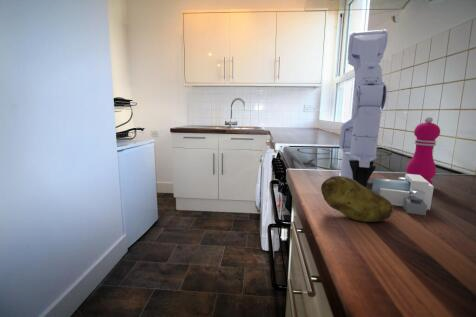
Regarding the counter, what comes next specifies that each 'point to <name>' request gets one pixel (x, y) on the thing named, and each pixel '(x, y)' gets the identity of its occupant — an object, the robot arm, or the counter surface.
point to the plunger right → (416, 196)
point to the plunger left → (401, 178)
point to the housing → (402, 196)
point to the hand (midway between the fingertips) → (358, 189)
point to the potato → (355, 200)
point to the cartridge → (387, 185)
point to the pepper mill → (424, 150)
